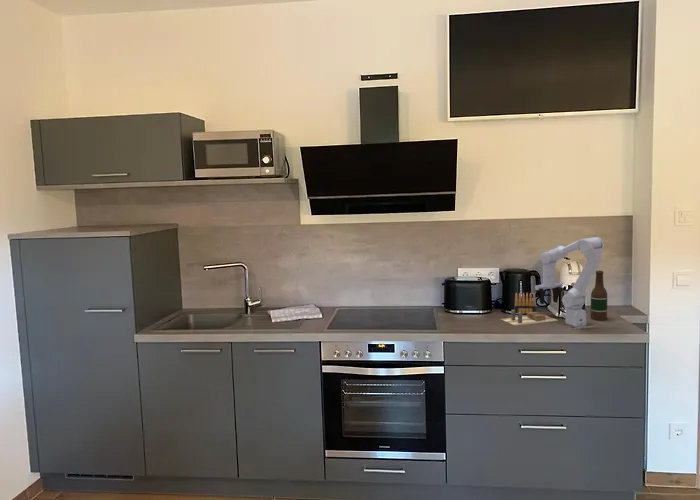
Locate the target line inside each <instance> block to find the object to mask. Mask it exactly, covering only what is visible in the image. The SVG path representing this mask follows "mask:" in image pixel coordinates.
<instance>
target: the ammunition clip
mask: <svg viewBox="0 0 700 500" xmlns="http://www.w3.org/2000/svg"><path fill="white" fill-rule="evenodd" d="M514 294H515V296H514V310H515V314H518V312H522V314H527V313H530V312H537V308H536V307H537V302H536V300H537V299H536V293H535V292H533V294H532V292H530V293H528V292H526V293H525V292H523V293H522V294H521V292H519V293H517V292H515V293H514ZM525 294H526V295H525Z"/></svg>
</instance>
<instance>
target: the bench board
mask: <svg viewBox="0 0 700 500" xmlns="http://www.w3.org/2000/svg"><path fill="white" fill-rule="evenodd" d="M500 320H501V321H504V322H506V323H509V324H510V325H513V326H521V325H522V326H525V325H532V324H540V323H549V322H559V320H558V319H556V318H553V317H550V316H548V315H546V320H543V321H535V320H532V319H529V318H527V315H524V316H523V315H522V323H518V316H515V320H511V317H508V318H507V317H506V318H500Z"/></svg>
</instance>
